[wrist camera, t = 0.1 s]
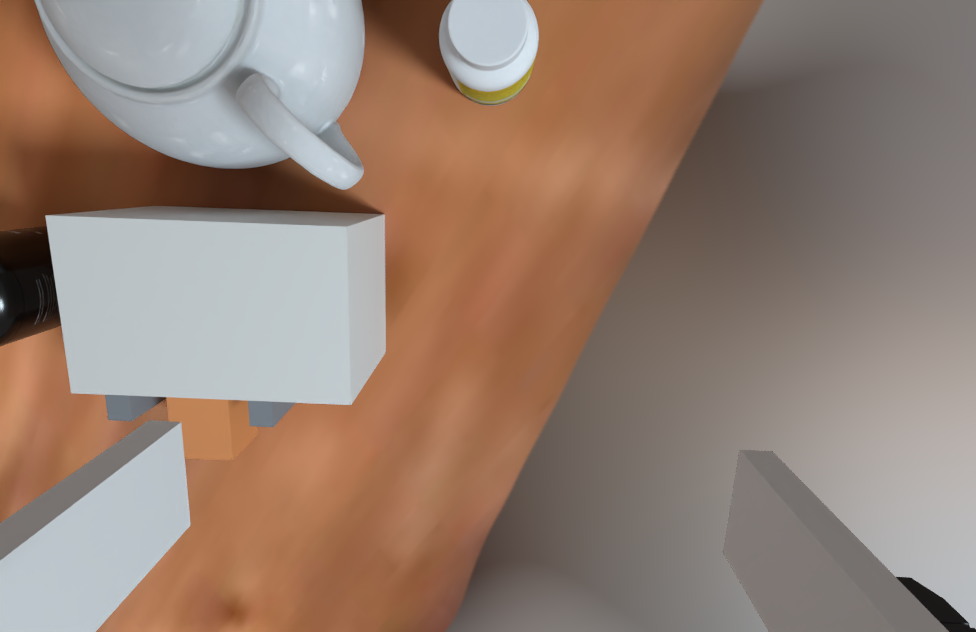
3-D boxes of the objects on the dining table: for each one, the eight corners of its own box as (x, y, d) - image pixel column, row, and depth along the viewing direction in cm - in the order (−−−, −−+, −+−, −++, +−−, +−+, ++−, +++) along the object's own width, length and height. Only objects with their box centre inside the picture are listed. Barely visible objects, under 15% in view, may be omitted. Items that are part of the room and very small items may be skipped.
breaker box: (152, 205, 40) (40, 215, 30) (384, 214, 40) (346, 226, 30) (170, 381, 43) (74, 441, 33) (386, 390, 43) (352, 453, 33)
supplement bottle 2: (548, 72, 37) (564, 37, 28) (481, 123, 38) (474, 106, 29) (501, -2, 36) (501, -65, 27) (432, 51, 37) (409, 9, 28)
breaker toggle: (194, 332, 40) (161, 349, 36) (251, 334, 40) (224, 352, 36) (203, 431, 42) (172, 458, 38) (257, 434, 42) (232, 460, 38)
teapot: (121, 179, 40) (-69, 180, 27) (85, -129, 35) (-165, -310, 22) (390, 187, 40) (334, 193, 26) (387, -122, 35) (317, -302, 22)
